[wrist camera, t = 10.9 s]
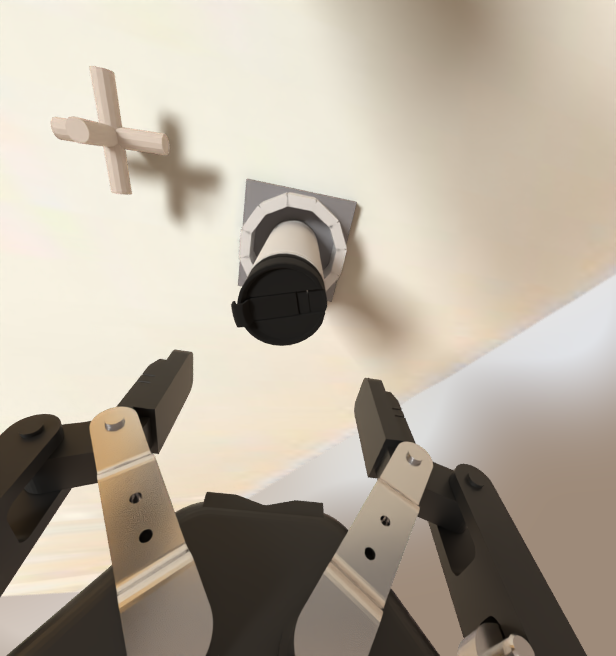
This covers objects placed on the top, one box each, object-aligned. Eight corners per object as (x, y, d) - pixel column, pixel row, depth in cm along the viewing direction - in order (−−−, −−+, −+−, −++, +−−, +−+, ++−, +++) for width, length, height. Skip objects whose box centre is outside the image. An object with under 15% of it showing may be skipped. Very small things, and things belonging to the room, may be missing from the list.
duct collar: (248, 178, 34) (240, 179, 30) (355, 201, 36) (362, 205, 31) (239, 282, 40) (232, 295, 36) (331, 298, 42) (334, 312, 38)
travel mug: (261, 222, 35) (219, 272, 18) (314, 216, 35) (325, 260, 18) (270, 271, 38) (242, 355, 21) (319, 265, 38) (332, 346, 21)
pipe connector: (180, 93, 30) (130, 61, 21) (187, 196, 35) (148, 204, 26) (81, 76, 29) (-14, 36, 21) (101, 184, 34) (31, 188, 25)
